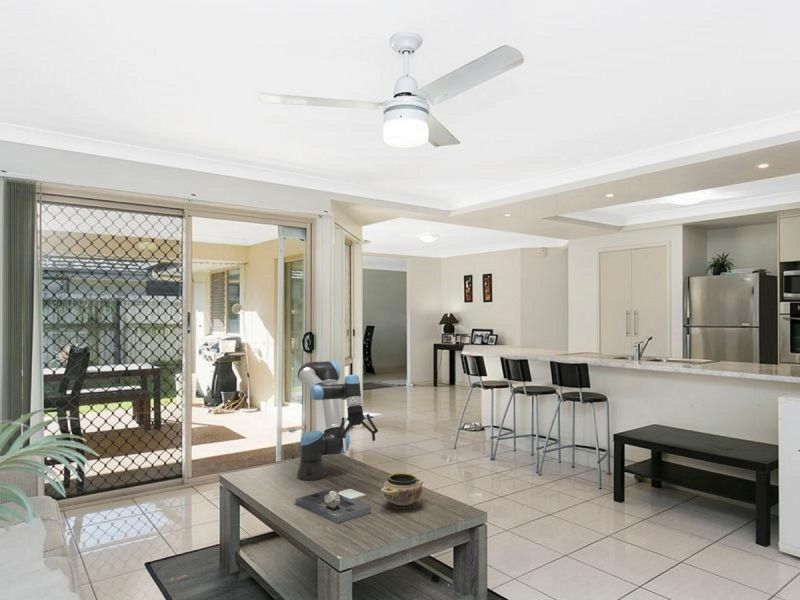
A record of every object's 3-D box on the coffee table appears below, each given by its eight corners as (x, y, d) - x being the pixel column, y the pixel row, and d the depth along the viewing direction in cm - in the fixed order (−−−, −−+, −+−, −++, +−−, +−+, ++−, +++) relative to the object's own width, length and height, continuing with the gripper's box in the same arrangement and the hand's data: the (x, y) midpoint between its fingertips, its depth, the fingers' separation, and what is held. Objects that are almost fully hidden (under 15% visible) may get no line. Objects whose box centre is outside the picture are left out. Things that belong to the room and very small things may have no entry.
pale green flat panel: (330, 495, 260) (330, 494, 260) (350, 489, 268) (350, 488, 268) (345, 501, 251) (345, 500, 251) (365, 495, 259) (365, 494, 259)
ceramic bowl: (390, 522, 232) (396, 490, 230) (366, 501, 245) (371, 471, 243) (431, 509, 248) (437, 479, 246) (406, 490, 262) (411, 462, 259)
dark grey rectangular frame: (295, 504, 247) (295, 498, 247) (327, 495, 260) (327, 489, 260) (338, 523, 224) (338, 517, 224) (371, 512, 237) (371, 506, 237)
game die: (336, 516, 242) (349, 499, 241) (323, 514, 236) (336, 497, 235) (328, 501, 249) (341, 485, 247) (315, 499, 243) (328, 482, 242)
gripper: (328, 408, 266) (332, 453, 259) (378, 401, 265) (383, 446, 258) (331, 410, 273) (335, 453, 266) (380, 403, 272) (385, 446, 265)
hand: (359, 450), depth 262 cm, fingers open, 13 cm apart
